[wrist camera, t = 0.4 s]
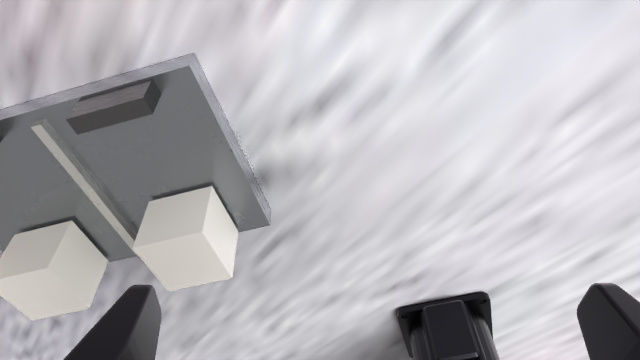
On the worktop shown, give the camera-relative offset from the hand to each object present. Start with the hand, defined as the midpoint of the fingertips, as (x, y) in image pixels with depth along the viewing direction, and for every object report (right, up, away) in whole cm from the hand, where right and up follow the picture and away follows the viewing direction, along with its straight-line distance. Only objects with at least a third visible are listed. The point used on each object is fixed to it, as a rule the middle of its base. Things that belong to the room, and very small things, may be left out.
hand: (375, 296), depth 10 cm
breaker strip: (-13, +3, +15) cm, 20 cm away
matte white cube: (-16, -1, +16) cm, 23 cm away
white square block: (-8, 0, +15) cm, 17 cm away
